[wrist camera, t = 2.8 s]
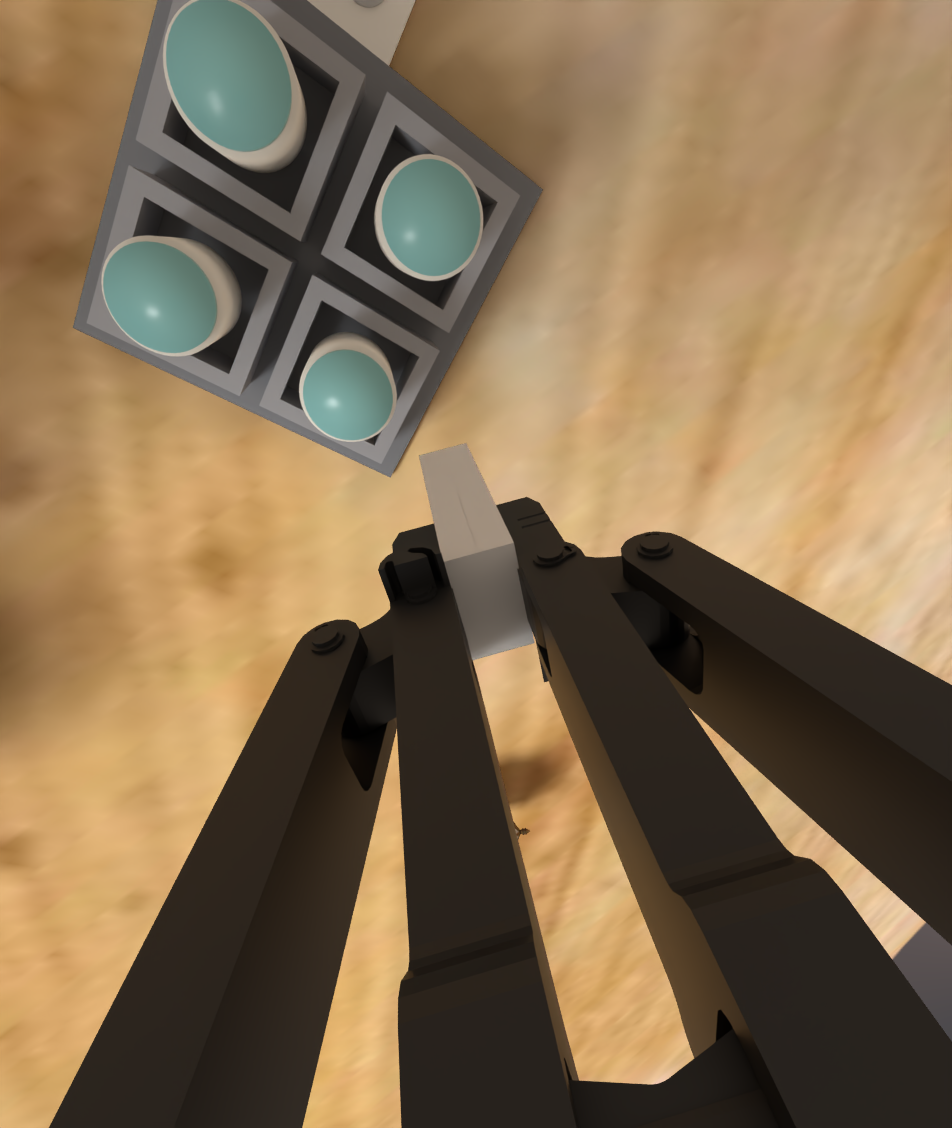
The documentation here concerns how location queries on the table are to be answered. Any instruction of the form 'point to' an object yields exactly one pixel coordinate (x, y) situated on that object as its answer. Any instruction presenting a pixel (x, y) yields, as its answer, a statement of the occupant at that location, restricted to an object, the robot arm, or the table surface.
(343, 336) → the button
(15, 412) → the table surface
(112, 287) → the button
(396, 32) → the card
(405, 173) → the button
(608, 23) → the table surface
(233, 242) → the board
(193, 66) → the button
